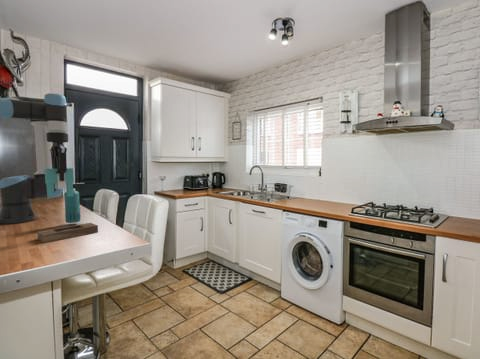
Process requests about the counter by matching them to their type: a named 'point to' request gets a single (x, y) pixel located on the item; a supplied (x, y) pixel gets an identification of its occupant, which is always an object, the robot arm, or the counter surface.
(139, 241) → the counter surface
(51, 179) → the notched teal block
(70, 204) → the beverage bottle
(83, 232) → the rail
